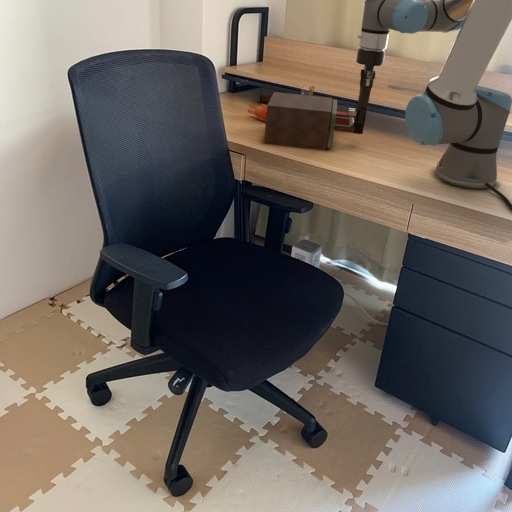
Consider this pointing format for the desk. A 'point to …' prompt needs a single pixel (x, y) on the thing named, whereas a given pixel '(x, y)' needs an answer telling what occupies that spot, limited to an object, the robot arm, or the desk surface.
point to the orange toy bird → (259, 111)
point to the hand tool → (265, 97)
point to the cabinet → (298, 120)
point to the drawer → (333, 125)
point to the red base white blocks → (347, 115)
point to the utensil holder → (309, 90)
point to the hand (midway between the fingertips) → (357, 132)
